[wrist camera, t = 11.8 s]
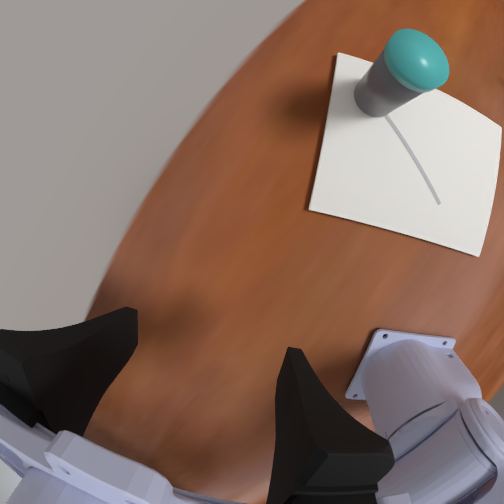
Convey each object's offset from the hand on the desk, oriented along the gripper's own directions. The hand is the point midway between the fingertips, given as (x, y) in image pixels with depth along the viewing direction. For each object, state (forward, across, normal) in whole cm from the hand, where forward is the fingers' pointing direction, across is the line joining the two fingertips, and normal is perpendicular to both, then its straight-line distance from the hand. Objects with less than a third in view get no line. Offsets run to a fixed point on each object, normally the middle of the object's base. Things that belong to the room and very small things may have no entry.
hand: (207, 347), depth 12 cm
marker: (+9, -7, -15) cm, 19 cm away
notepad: (+9, -12, -12) cm, 19 cm away
